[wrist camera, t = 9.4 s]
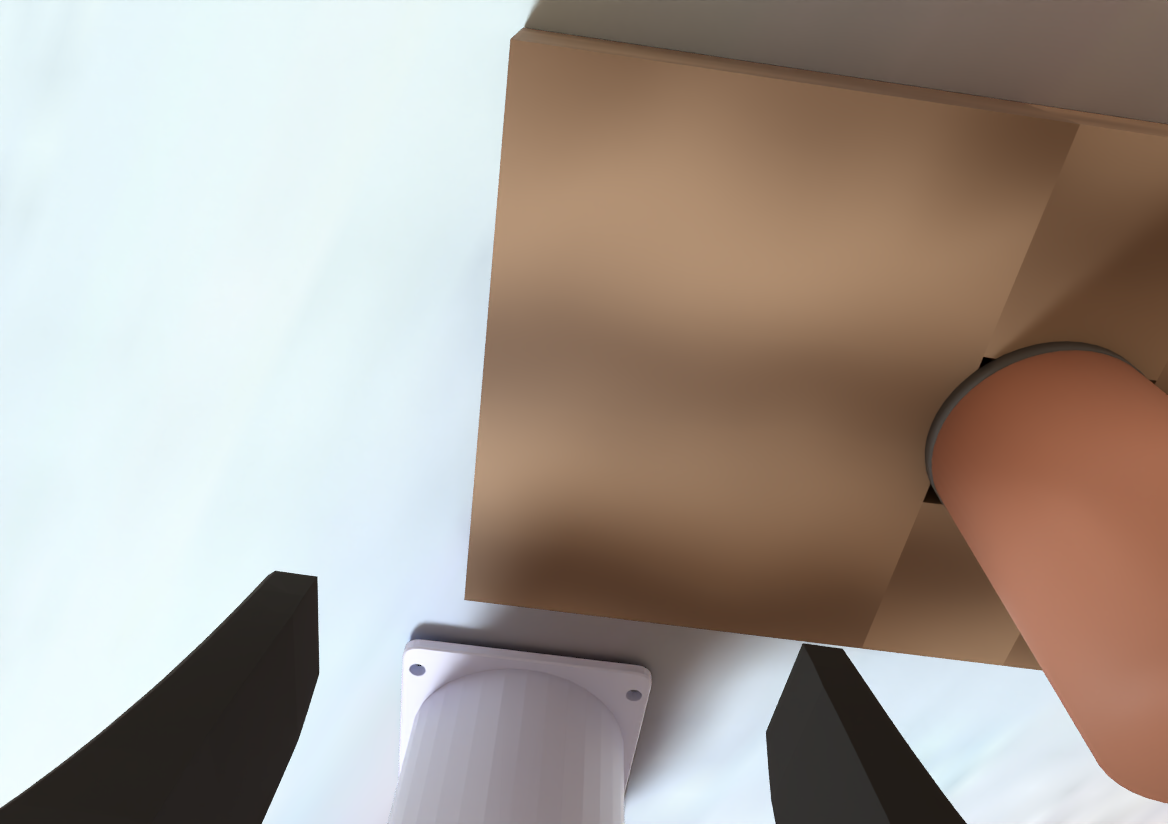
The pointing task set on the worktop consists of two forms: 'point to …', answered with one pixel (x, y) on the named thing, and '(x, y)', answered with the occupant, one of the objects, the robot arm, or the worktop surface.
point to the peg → (1072, 533)
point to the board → (779, 334)
